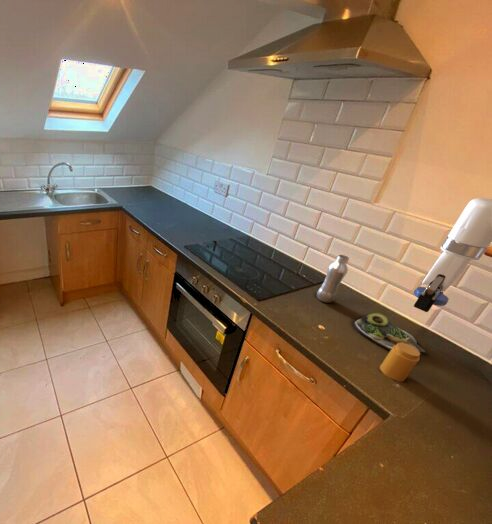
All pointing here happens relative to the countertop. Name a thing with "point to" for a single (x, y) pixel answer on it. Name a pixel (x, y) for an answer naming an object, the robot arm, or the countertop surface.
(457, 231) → the robot arm
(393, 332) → the salad plate
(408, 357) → the jar
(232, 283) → the countertop surface
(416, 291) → the lid
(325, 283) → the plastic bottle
